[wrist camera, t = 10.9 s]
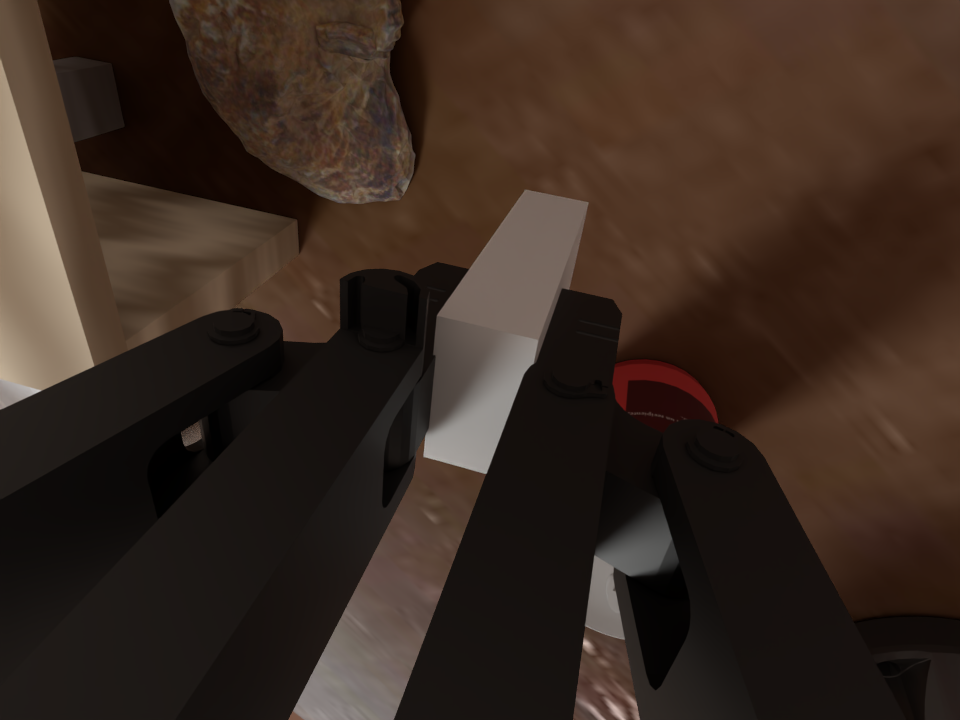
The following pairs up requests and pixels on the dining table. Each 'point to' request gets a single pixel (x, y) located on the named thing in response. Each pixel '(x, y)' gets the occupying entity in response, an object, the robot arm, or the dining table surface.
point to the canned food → (657, 403)
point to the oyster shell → (307, 88)
